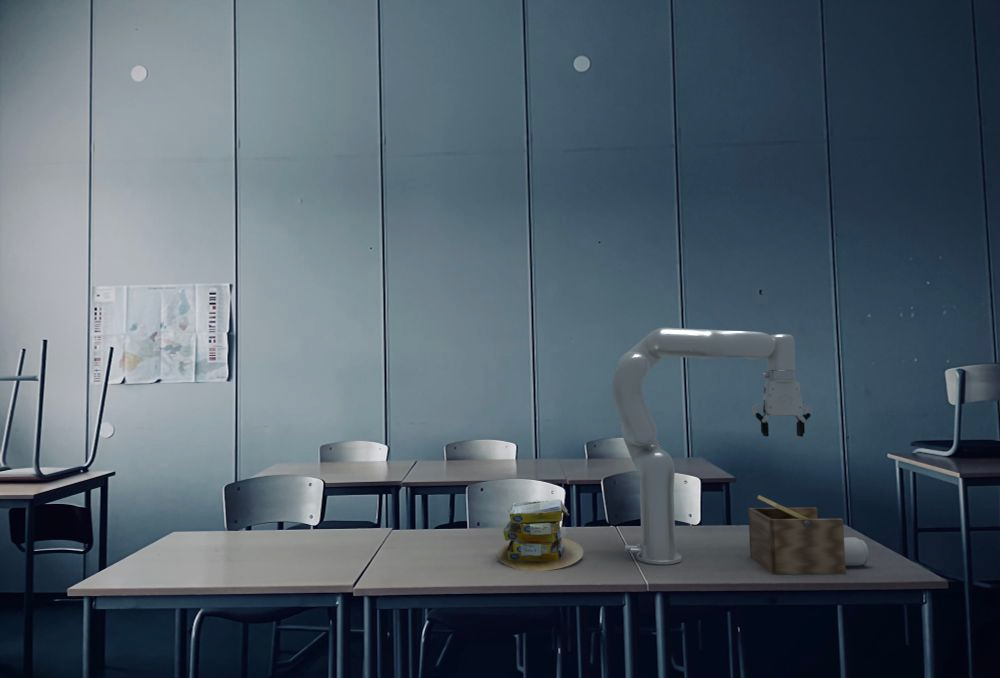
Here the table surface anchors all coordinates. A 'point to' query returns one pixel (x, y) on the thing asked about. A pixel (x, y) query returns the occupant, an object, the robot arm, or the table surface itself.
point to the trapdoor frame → (796, 542)
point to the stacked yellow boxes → (537, 538)
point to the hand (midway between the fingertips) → (782, 436)
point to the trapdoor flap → (781, 507)
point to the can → (855, 551)
